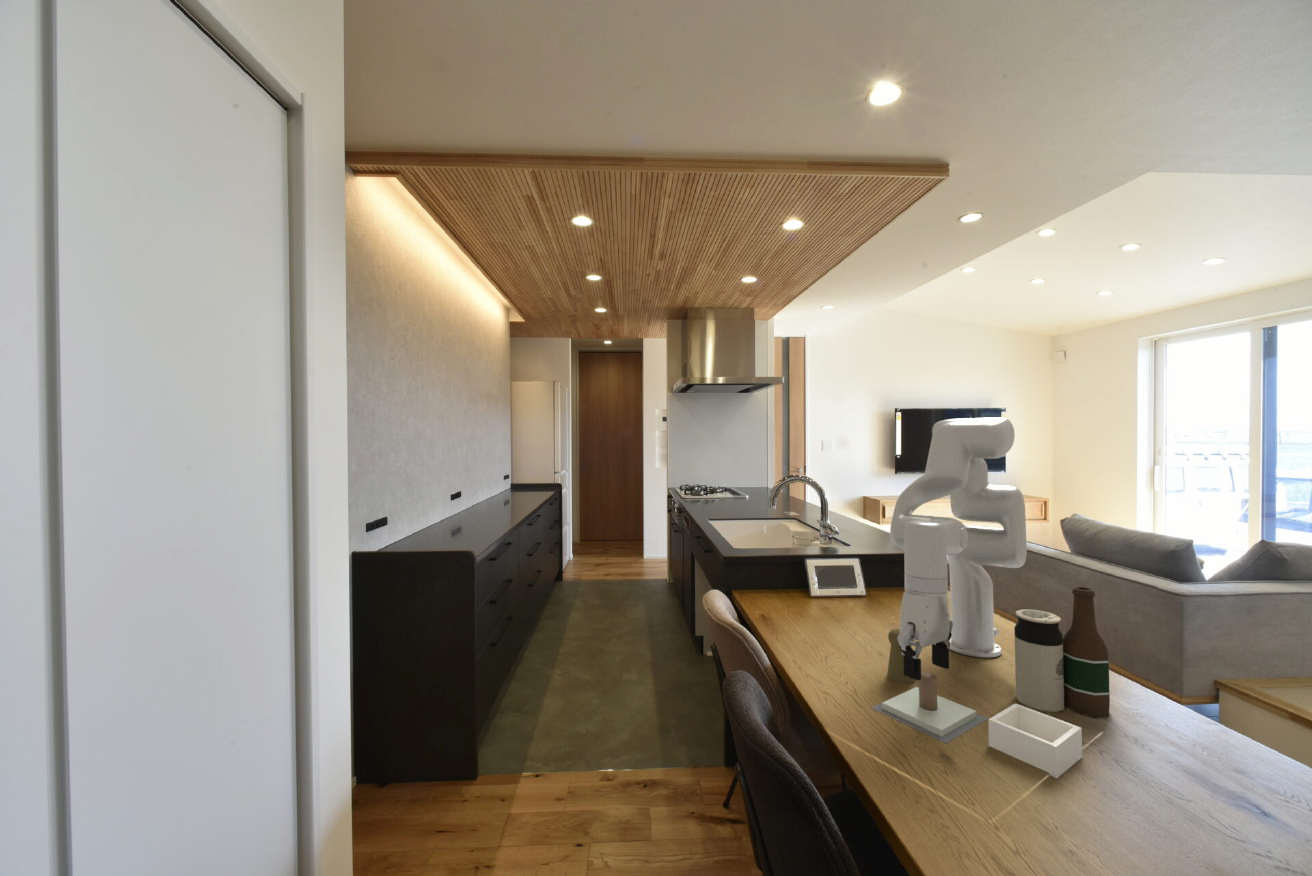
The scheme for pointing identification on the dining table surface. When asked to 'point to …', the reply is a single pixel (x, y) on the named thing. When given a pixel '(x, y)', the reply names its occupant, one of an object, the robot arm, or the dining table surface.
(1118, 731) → the dining table surface
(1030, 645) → the travel mug
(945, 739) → the mat
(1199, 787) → the dining table surface
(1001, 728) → the white open storage bin
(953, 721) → the lid
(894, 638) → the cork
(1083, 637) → the beer bottle
